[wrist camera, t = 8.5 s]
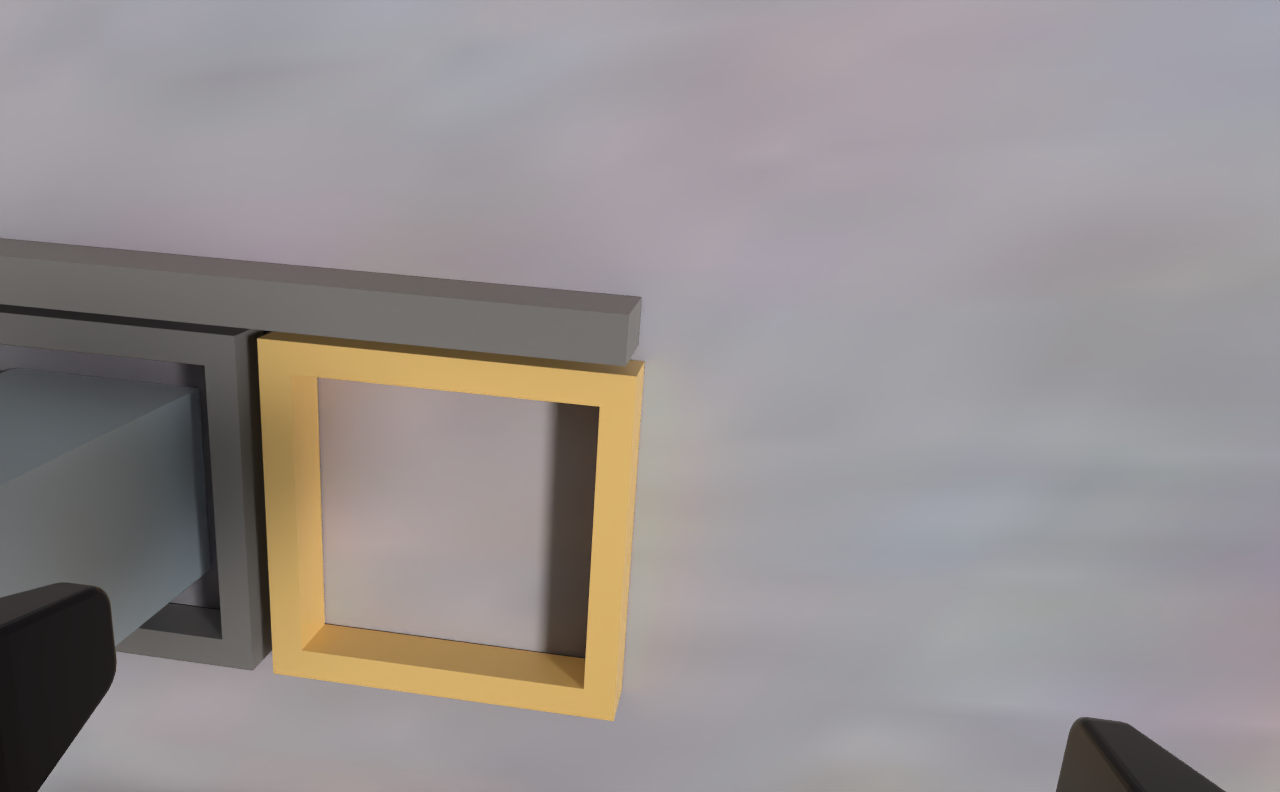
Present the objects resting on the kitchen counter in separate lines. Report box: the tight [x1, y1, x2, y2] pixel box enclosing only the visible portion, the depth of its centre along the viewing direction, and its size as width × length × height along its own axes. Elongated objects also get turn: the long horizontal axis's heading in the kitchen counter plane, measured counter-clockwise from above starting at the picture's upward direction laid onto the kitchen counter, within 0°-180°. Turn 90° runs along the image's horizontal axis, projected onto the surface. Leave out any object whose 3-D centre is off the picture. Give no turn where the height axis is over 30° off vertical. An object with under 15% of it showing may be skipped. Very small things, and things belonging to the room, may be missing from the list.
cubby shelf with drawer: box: [0, 238, 645, 721], centre depth 22 cm, size 9×16×2 cm, turn 86°
